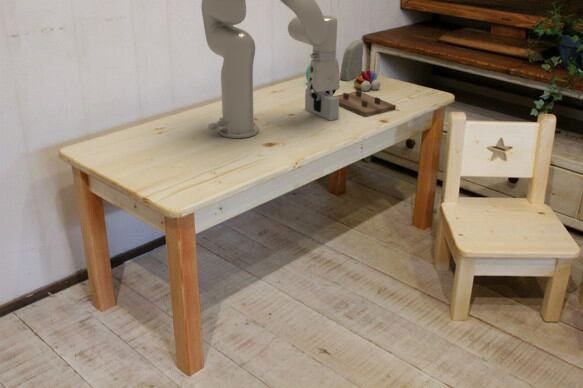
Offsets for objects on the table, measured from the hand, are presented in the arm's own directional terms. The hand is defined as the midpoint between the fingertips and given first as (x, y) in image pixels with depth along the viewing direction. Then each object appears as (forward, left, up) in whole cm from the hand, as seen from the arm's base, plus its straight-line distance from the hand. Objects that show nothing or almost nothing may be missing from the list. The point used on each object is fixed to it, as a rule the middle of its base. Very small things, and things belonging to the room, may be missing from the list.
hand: (322, 109), depth 212 cm
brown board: (+17, 0, -2) cm, 17 cm away
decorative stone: (+36, +29, -2) cm, 46 cm away
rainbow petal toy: (+32, +15, -2) cm, 36 cm away
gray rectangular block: (0, 0, -2) cm, 2 cm away
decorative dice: (+20, +28, -2) cm, 35 cm away
